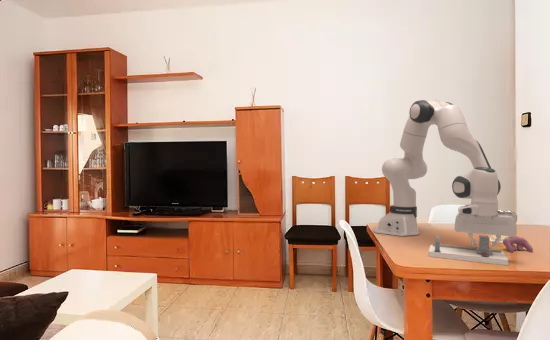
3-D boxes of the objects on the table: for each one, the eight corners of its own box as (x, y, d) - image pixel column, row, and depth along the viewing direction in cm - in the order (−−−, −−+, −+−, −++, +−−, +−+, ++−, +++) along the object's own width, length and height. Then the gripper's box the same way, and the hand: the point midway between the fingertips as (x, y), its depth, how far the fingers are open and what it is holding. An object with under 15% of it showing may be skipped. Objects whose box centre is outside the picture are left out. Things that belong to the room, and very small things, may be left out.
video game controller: (527, 253, 142) (521, 237, 145) (535, 251, 138) (529, 234, 141) (504, 254, 142) (499, 237, 145) (511, 252, 138) (506, 235, 141)
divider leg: (477, 254, 127) (477, 238, 127) (476, 250, 134) (476, 234, 133) (492, 256, 125) (493, 239, 125) (491, 251, 131) (491, 236, 131)
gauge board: (428, 256, 134) (428, 236, 134) (430, 249, 144) (430, 230, 144) (508, 265, 122) (508, 243, 121) (503, 256, 132) (503, 236, 132)
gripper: (515, 210, 128) (515, 246, 128) (454, 207, 137) (454, 241, 138) (518, 212, 122) (518, 250, 122) (454, 209, 132) (454, 244, 132)
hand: (484, 245), depth 130 cm, fingers open, 5 cm apart
